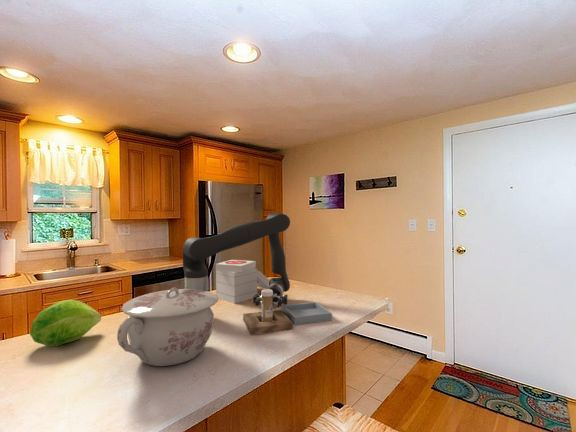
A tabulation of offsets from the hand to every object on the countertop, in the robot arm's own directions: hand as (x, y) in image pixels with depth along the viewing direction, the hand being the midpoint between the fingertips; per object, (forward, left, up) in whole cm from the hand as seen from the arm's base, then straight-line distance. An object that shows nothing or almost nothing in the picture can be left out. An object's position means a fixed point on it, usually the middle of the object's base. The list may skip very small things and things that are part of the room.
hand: (267, 304), depth 118 cm
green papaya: (-69, +6, -8) cm, 69 cm away
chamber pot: (-35, -16, -8) cm, 39 cm away
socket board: (-1, -1, -8) cm, 8 cm away
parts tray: (+17, +3, -8) cm, 19 cm away
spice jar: (-1, -1, -8) cm, 8 cm away
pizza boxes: (-2, +43, -8) cm, 44 cm away
